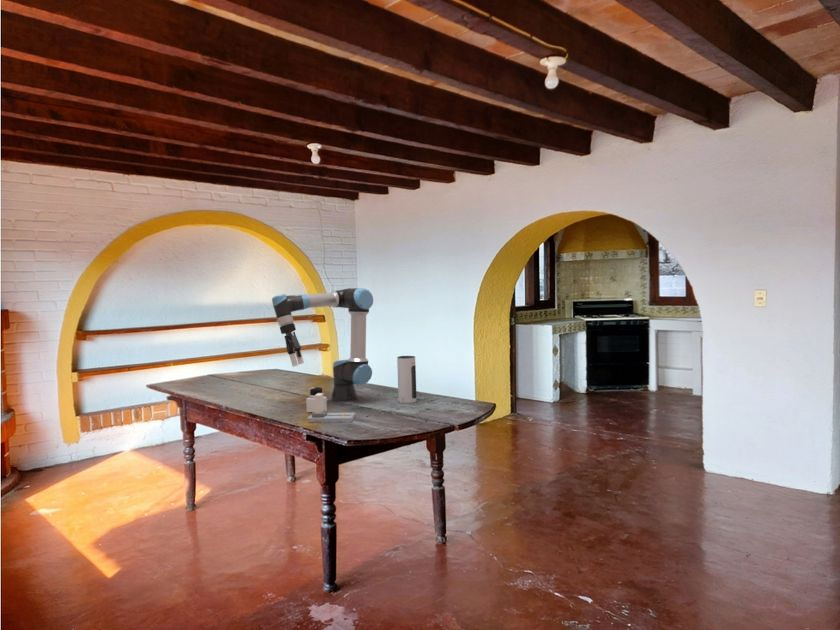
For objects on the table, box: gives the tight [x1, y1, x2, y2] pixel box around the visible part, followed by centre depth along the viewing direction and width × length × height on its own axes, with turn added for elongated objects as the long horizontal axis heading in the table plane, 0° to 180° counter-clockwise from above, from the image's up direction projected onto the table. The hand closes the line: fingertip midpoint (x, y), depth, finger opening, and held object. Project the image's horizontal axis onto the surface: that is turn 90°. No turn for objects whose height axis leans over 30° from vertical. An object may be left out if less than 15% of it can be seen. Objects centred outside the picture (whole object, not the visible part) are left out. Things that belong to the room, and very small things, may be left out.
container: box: [305, 386, 328, 413], centre depth 313 cm, size 8×8×13 cm
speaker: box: [396, 355, 418, 405], centre depth 332 cm, size 11×10×26 cm
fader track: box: [306, 412, 357, 423], centre depth 296 cm, size 12×22×2 cm, turn 85°
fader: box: [311, 392, 329, 417], centre depth 296 cm, size 8×6×10 cm
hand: (298, 365), depth 298 cm, fingers open, 13 cm apart
